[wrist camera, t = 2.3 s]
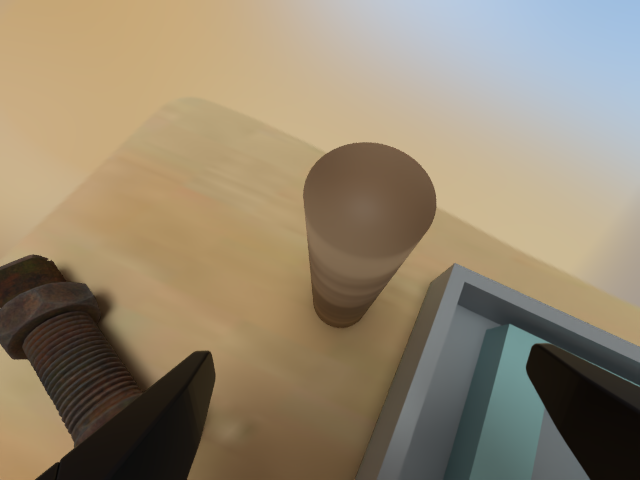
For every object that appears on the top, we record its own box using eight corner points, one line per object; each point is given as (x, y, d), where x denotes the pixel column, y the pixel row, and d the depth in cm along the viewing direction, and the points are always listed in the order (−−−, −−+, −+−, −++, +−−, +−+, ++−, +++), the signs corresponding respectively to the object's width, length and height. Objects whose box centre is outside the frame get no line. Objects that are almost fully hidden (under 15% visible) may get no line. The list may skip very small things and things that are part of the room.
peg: (352, 337, 19) (407, 280, 7) (303, 311, 20) (278, 218, 8) (375, 289, 20) (453, 170, 8) (328, 265, 21) (339, 126, 9)
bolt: (77, 280, 23) (192, 444, 18) (-17, 316, 19) (97, 532, 14) (57, 224, 19) (197, 412, 14) (-63, 255, 15) (69, 522, 11)
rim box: (741, 749, 12) (920, 907, 9) (349, 493, 16) (358, 529, 12) (730, 424, 17) (843, 439, 13) (430, 282, 20) (455, 263, 17)
